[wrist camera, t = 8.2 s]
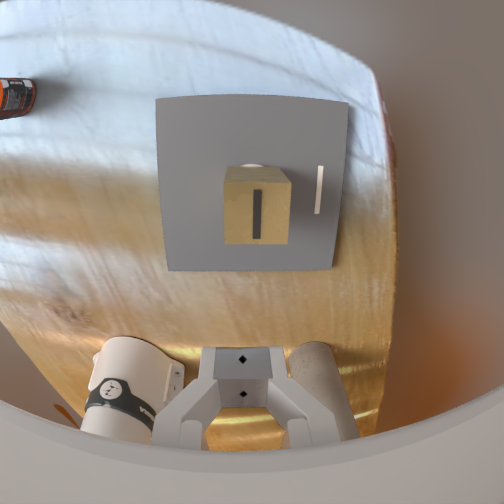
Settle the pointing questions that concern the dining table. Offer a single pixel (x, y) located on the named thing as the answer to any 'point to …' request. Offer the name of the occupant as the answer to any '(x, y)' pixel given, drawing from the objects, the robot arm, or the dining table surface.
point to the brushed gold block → (256, 205)
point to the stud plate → (249, 154)
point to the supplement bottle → (16, 97)
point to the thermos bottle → (324, 383)
